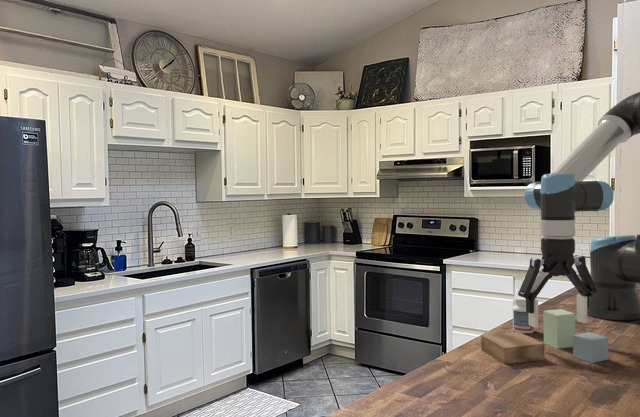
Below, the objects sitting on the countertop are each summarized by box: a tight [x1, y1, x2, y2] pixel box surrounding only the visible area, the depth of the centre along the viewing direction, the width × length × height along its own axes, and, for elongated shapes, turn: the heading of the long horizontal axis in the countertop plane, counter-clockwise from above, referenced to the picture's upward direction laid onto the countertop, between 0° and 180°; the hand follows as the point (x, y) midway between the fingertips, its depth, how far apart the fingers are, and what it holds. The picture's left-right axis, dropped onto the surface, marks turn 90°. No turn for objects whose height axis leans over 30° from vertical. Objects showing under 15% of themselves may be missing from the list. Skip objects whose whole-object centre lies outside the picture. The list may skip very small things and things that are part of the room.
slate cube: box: [572, 331, 609, 364], centre depth 119 cm, size 5×5×5 cm
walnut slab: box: [480, 331, 546, 365], centre depth 123 cm, size 10×10×4 cm
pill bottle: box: [512, 296, 535, 334], centre depth 141 cm, size 5×5×9 cm
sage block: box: [542, 308, 576, 349], centre depth 129 cm, size 5×5×8 cm
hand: (557, 324), depth 129 cm, fingers open, 13 cm apart
